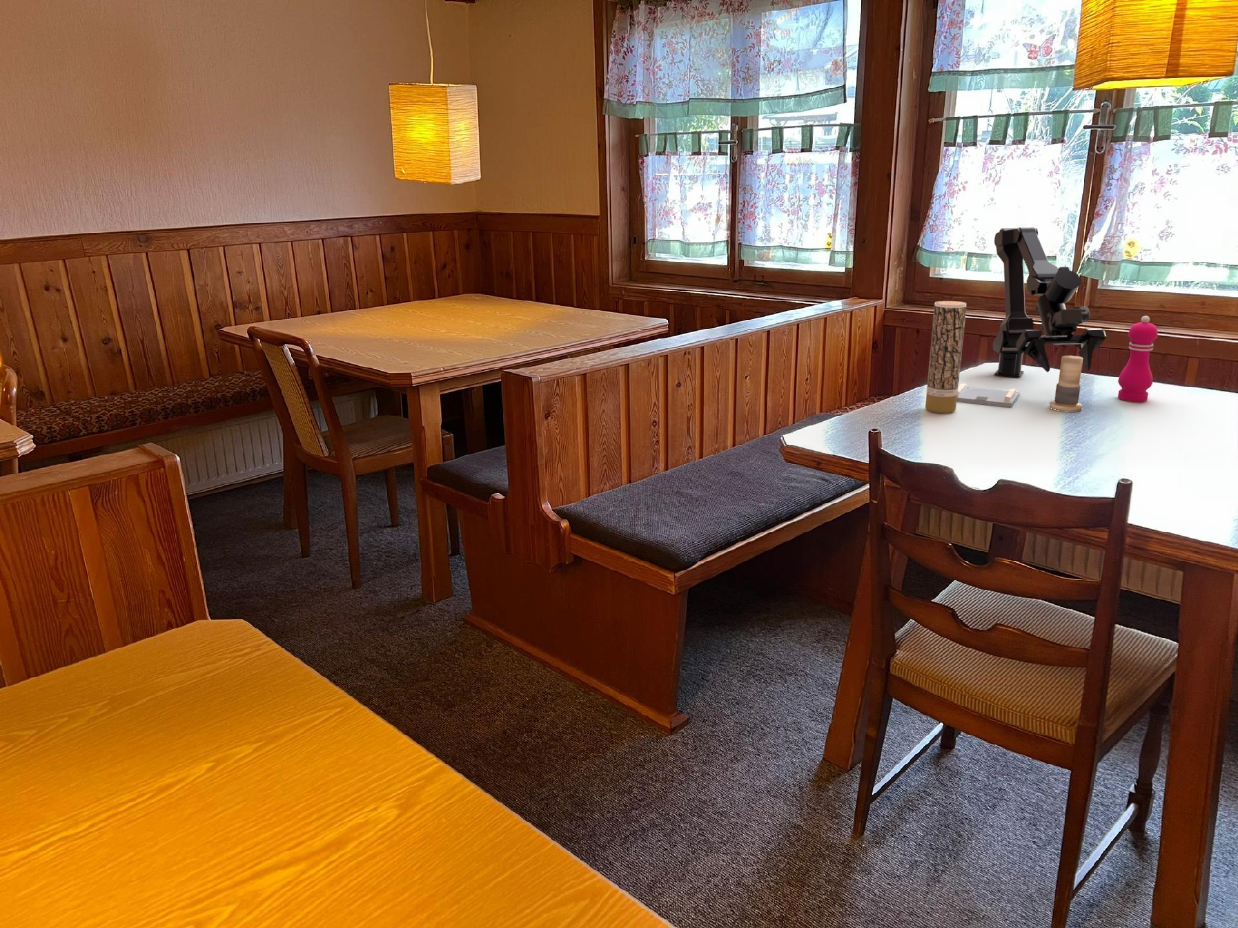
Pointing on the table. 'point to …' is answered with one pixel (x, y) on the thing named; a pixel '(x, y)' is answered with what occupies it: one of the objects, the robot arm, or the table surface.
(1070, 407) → the bobbin
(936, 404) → the wooden log
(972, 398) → the board
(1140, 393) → the pepper mill
